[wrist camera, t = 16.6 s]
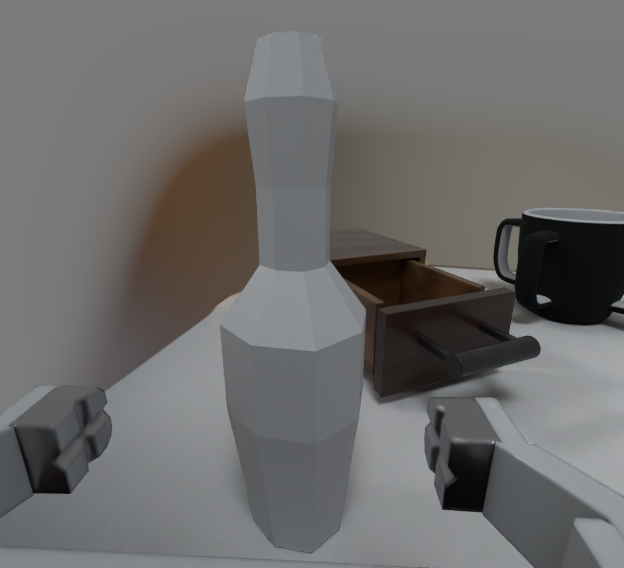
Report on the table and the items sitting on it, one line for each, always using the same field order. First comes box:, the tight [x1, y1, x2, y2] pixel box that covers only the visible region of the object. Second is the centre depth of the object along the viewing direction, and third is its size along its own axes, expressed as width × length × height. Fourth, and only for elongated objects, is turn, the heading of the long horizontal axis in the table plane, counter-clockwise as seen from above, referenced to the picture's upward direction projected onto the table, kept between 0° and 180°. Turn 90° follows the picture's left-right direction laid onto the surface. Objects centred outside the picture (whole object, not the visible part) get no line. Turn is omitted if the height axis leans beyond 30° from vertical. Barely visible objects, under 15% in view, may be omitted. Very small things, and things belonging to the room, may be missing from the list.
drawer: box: [335, 258, 541, 397], centre depth 34 cm, size 19×12×7 cm, turn 22°
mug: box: [494, 208, 624, 323], centre depth 45 cm, size 16×16×12 cm
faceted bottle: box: [220, 31, 366, 553], centre depth 17 cm, size 6×6×22 cm
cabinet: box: [330, 228, 426, 267], centre depth 47 cm, size 16×14×9 cm
